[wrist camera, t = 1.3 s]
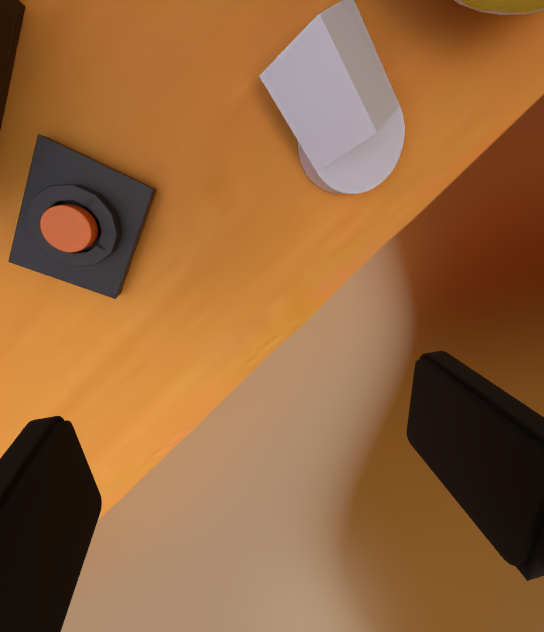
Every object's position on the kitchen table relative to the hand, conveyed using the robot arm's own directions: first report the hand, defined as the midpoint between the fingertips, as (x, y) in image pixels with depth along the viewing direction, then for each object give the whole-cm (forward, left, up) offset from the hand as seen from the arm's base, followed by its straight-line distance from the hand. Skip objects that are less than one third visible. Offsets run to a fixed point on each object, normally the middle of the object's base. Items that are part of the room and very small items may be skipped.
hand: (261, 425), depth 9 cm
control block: (+2, -12, -26) cm, 29 cm away
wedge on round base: (-16, +5, -26) cm, 31 cm away
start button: (+2, -12, -23) cm, 26 cm away
